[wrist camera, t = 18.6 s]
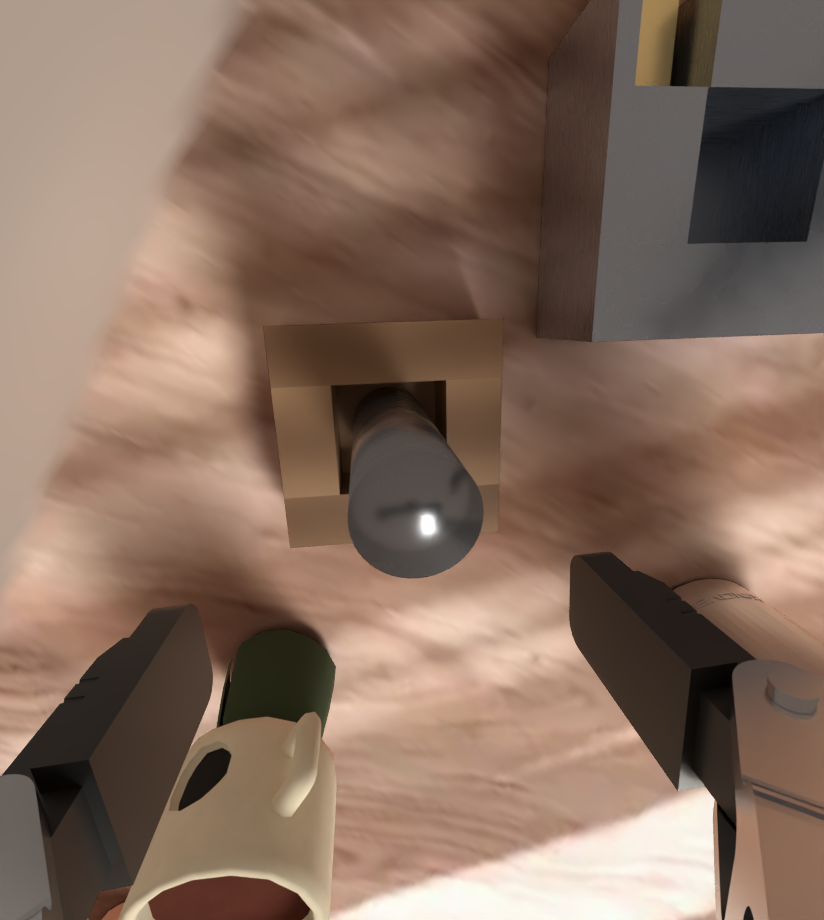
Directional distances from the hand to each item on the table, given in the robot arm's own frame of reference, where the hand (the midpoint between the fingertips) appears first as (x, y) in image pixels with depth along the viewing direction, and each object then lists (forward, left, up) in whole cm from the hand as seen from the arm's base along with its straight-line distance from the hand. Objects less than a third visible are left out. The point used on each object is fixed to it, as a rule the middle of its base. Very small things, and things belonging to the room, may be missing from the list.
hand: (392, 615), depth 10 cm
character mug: (-14, +6, -16) cm, 22 cm away
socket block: (+11, -15, -15) cm, 24 cm away
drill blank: (+1, -1, -15) cm, 15 cm away
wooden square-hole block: (+1, -1, -15) cm, 15 cm away
